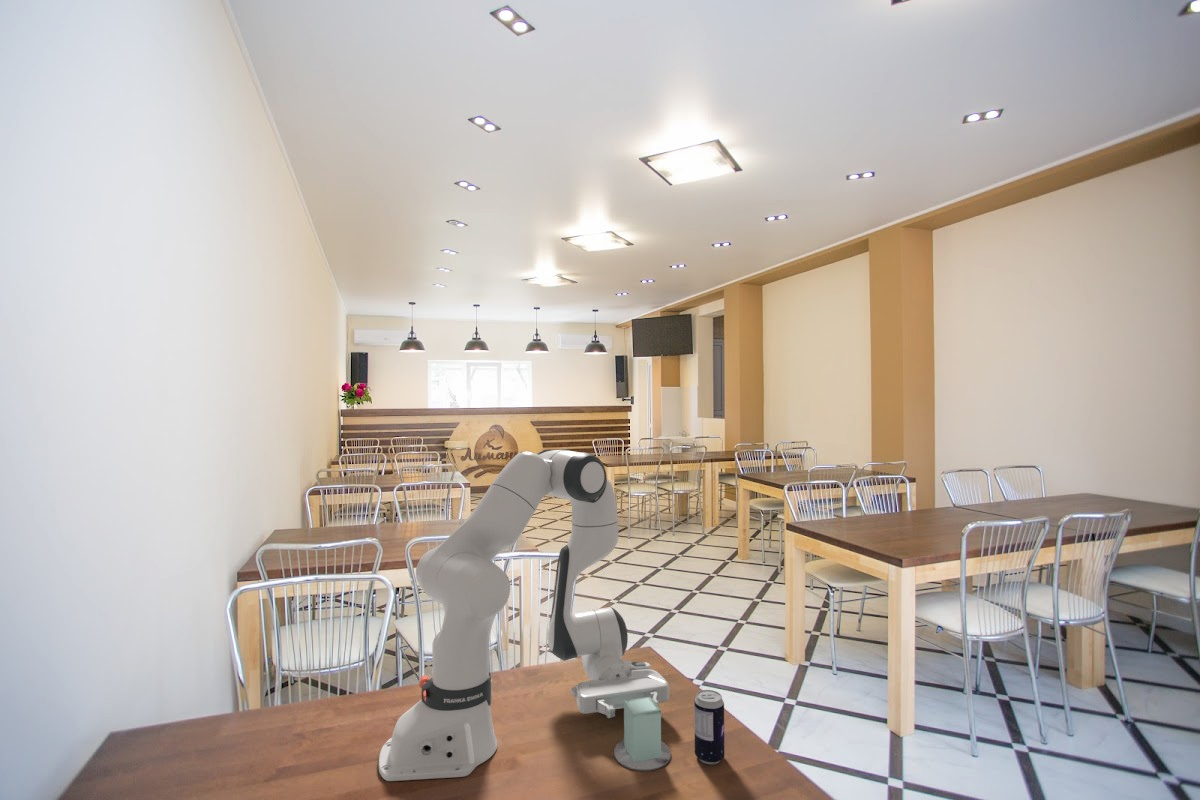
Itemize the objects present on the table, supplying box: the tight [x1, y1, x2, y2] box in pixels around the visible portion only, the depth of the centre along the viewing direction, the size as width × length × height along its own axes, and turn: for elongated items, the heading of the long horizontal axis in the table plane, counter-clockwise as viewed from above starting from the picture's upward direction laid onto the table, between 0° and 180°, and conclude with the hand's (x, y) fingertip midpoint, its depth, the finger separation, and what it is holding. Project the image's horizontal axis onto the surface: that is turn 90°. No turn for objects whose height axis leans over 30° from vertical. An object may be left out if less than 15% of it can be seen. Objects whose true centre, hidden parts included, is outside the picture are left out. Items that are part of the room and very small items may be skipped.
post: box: [613, 739, 672, 772], centre depth 116 cm, size 11×11×8 cm
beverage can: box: [693, 689, 726, 765], centre depth 115 cm, size 6×6×12 cm
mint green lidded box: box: [623, 697, 662, 762], centre depth 116 cm, size 6×6×9 cm
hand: (633, 710), depth 121 cm, fingers open, 8 cm apart
